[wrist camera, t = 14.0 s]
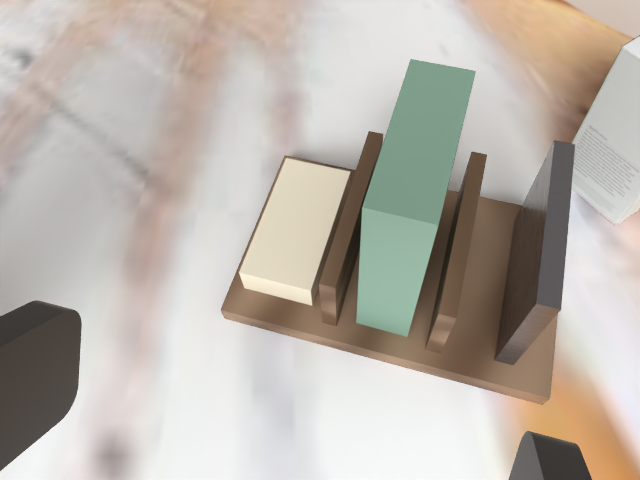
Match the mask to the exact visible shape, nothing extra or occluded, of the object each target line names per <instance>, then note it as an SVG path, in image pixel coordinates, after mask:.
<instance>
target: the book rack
mask: <svg viewBox="0 0 640 480" xmlns="http://www.w3.org/2000/svg"><path fill="white" fill-rule="evenodd" d="M382 141H383V134H380V133H375V132H370V131H369V132H368V135H367V139H366V142H365V145H364V148H363V151H362V154H361V157H360V160H359V163H358V166H357V169H356V170H351V169H347V168H342V167H337V166H332V165H328V164H323V163H318V162H314V161H309V160H304V159H299V158H295V157H290V156H284V158H283V161H282V163H281V166H280V168H279V170H278V173H277V175H276V178H275V180H274V182H273V185H272V187H271V190H270V192H269V194H268V197H267V199H266V202H265V204H264V207H263V209H262V211H261V214H260V216H259V219H258V221H257V223H256V226H255V228H254V231H253V233H252V236H251V238H250V240H249V243H248V245H247V248H246V250H245V252H244V255H243V257H242V260H241V262H240V264H239V267H238V269H237V272H236V274H235V277H234V279H233V281H232V284H231V286H230V289H229V291H228V293H227V296H226V298H225V301H224V303H223V306H222V308H221V312H222V314H223V316H224V318H226V319H229V320H233V321H237V322H240V323H244V324H248V325H251V326H255V327H259V328H262V329H266V330H270V331H273V332H277V333H281V334H284V335H288V336H292V337H295V338H299V339H303V340H307V341H310V342H314V343H318V344H321V345H325V346H329V347H332V348H336V349H340V350H343V351H347V352H351V353H354V354H358V355H362V356H365V357H369V358H373V359H376V360H380V361H384V362H387V363H391V364H395V365H398V366H402V367H406V368H409V369H413V370H417V371H421V372H424V373H428V374H432V375H435V376H439V377H443V378H446V379H450V380H454V381H457V382H461V383H465V384H468V385H472V386H476V387H479V388H483V389H487V390H490V391H494V392H498V393H501V394H505V395H509V396H512V397H516V398H520V399H523V400H527V401H531V402H535V403H538V404H542V405H543V404H544V403H545V402H546V401H548V400H549V399H550V393H551V382H552V370H553V359H554V348H555V337H556V326H557V315H558V314H557V315H556V316H555V317H554V318H553V319H552V321H551V322H550V323H549V324H548V325H547V326H546V328H545V329H544V330H543V331H542V332H541V334H540V335H539V336H538V337H537V338H536V339H535V341H534V342H533V343H532V344H531V345H530V346H529V348H528V349H527V350H526V351H525V352H524V354H523V355H522V356H521V357H520V358H519V359H518V361H517V362H516V363H515V364H514V365H510V364H506V363H502V362H498V361H494V359H495V353H496V346H497V339H498V332H499V325H500V318H501V311H502V304H503V297H504V290H505V283H506V276H507V269H508V262H509V256H510V249H511V242H512V235H513V228H514V221H515V219H516V217H517V215H518V213H519V211H520V209H521V207H522V206H521V205H516V204H511V203H507V202H502V201H497V200H492V199H488V198H483V197H479V195H480V189H481V184H482V179H483V173H484V168H485V163H486V157H487V155H486V154H481V153H476V152H471V156H470V159H469V162H468V165H467V169H466V172H465V175H464V178H463V181H462V185H461V188H460V191H459V192H455V191H450V190H447V192H446V196H445V200H444V205H443V209H442V213H441V217H440V221H439V225H438V229H437V232H436V236H435V240H434V243H433V247H432V250H431V254H430V258H429V261H428V265H427V268H426V272H425V276H424V279H423V283H422V286H421V290H420V293H419V297H418V301H417V304H416V308H415V311H414V315H413V319H412V322H411V326H410V329H409V333H408V336H407V337H405V336H402V335H398V334H394V333H391V332H387V331H384V330H380V329H376V328H373V327H369V326H365V325H362V324H358V323H356V318H357V299H358V279H359V260H360V241H361V221H362V206H363V203H364V200H365V197H366V194H367V191H368V188H369V185H370V182H371V179H372V176H373V173H374V170H375V167H376V164H377V161H378V158H379V155H380V151H381V148H382ZM286 158H289V159H293V160H298V161H303V162H307V163H312V164H317V165H322V166H326V167H331V168H336V169H340V170H345V171H350V190H349V193H348V196H347V199H346V202H345V206H344V209H343V212H342V215H341V218H340V221H339V224H338V227H337V230H336V233H335V236H334V239H333V242H332V245H331V248H330V251H329V254H328V257H327V260H326V263H325V266H324V270H323V273H322V276H321V279H320V282H319V287H318V290H317V293H316V296H315V299H314V302H313V306H312V305H308V304H304V303H300V302H296V301H292V300H288V299H285V298H281V297H277V296H273V295H269V294H265V293H262V292H258V291H254V290H250V289H246V288H244V285H243V283H242V280H241V277H240V274H239V271H240V268H241V266H242V264H243V261H244V259H245V256H246V254H247V251H248V249H249V247H250V244H251V242H252V239H253V237H254V234H255V232H256V230H257V227H258V225H259V222H260V220H261V217H262V215H263V213H264V210H265V208H266V205H267V203H268V200H269V198H270V196H271V193H272V191H273V188H274V186H275V183H276V181H277V179H278V176H279V174H280V171H281V169H282V166H283V164H284V162H285V159H286Z"/></svg>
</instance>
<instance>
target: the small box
mask: <svg viewBox="0 0 640 480" xmlns="http://www.w3.org/2000/svg"><path fill="white" fill-rule="evenodd" d="M571 144H575V153H574V165H573V176H572V188H571V189H572V190H574V191H575V192H576V193H577V194H578V195H580V196H581V197H582V198H583V199H584V200H585V201H587V202H588V203H589V204H590V205H591V206H592V207H593V208H595V209H596V210H597V211H598V212H599V213H600V214H602V215H603V216H604V217H605V218H606V219H608V220H609V221H610V222H611V223H613V224H614V225H618V224H619V223H621V222H622V221H624V220H625V219H626V218H628V217H629V216H631V215H632V214H633V213H635V212H636V211H638V210H639V209H640V36H638V37H636V38H635V39H633V40H631V41H630V42H628V43H627V44H625V45H623V46H622V48H621V50H620V52H619V54H618V56H617V58H616V60H615V62H614V64H613V65H612V67H611V69H610V71H609V73H608V75H607V77H606V79H605V81H604V82H603V84H602V86H601V88H600V90H599V92H598V94H597V96H596V98H595V100H594V102H593V103H592V105H591V107H590V109H589V111H588V113H587V115H586V117H585V119H584V121H583V122H582V124H581V126H580V128H579V130H578V132H577V134H576V136H575V138H574V139H573V141H572V143H571Z"/></svg>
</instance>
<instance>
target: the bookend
mask: <svg viewBox="0 0 640 480" xmlns="http://www.w3.org/2000/svg"><path fill="white" fill-rule="evenodd" d="M574 153H575V144H570V143H565V142H560V141H555V140H554V142H553V144H552V146H551V148H550V150H549V152H548V154H547V156H546V158H545V160H544V163H543V165H542V167H541V169H540V171H539V173H538V175H537V177H536V179H535V181H534V183H533V185H532V187H531V189H530V191H529V193H528V195H527V197H526V199H525V201H524V203H523V205H522V207H521V209H520V211H519V213H518V215H517V217H516V219H515V221H514V228H513V235H512V242H511V249H510V256H509V262H508V269H507V276H506V283H505V290H504V297H503V304H502V311H501V318H500V325H499V332H498V339H497V346H496V353H495V359H494V361H498V362H502V363H506V364H510V365H514V364H515V363H516V362H517V361H518V359H519V358H520V357H521V356H522V355H523V354H524V352H525V351H526V350H527V349H528V348H529V346H530V345H531V344H532V343H533V342H534V341H535V339H536V338H537V337H538V336H539V335H540V334H541V332H542V331H543V330H544V329H545V328H546V326H547V325H548V324H549V323H550V322H551V321H552V319H553V318H554V317H555V316H556V315H557V314H558V312H559V311H560V310H561V302H562V290H563V279H564V268H565V256H566V245H567V233H568V222H569V210H570V199H571V188H572V176H573V165H574Z"/></svg>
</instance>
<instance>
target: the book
mask: <svg viewBox="0 0 640 480" xmlns="http://www.w3.org/2000/svg"><path fill="white" fill-rule="evenodd" d="M475 72H476V71H473V70H467V69H462V68H456V67H451V66H445V65H440V64H434V63H429V62H424V61H418V60H413V59H411V60H410V63H409V66H408V69H407V72H406V75H405V78H404V81H403V84H402V87H401V90H400V93H399V97H398V100H397V103H396V106H395V109H394V112H393V115H392V118H391V121H390V124H389V127H388V130H387V133H386V136H385V139H384V142H383V145H382V148H381V151H380V155H379V158H378V161H377V164H376V167H375V170H374V173H373V176H372V179H371V182H370V185H369V188H368V191H367V194H366V197H365V200H364V203H363V206H362V221H361V241H360V260H359V279H358V299H357V318H356V323H358V324H362V325H365V326H369V327H373V328H376V329H380V330H384V331H387V332H391V333H394V334H398V335H402V336H405V337H407V336H408V333H409V329H410V326H411V322H412V319H413V315H414V311H415V308H416V304H417V301H418V297H419V293H420V290H421V286H422V283H423V279H424V276H425V272H426V268H427V265H428V261H429V258H430V254H431V250H432V247H433V243H434V240H435V236H436V232H437V229H438V225H439V221H440V217H441V213H442V209H443V205H444V200H445V196H446V192H447V188H448V184H449V180H450V176H451V171H452V167H453V163H454V159H455V155H456V151H457V147H458V143H459V138H460V134H461V130H462V126H463V122H464V118H465V114H466V109H467V105H468V101H469V97H470V93H471V89H472V85H473V80H474V76H475Z"/></svg>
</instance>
